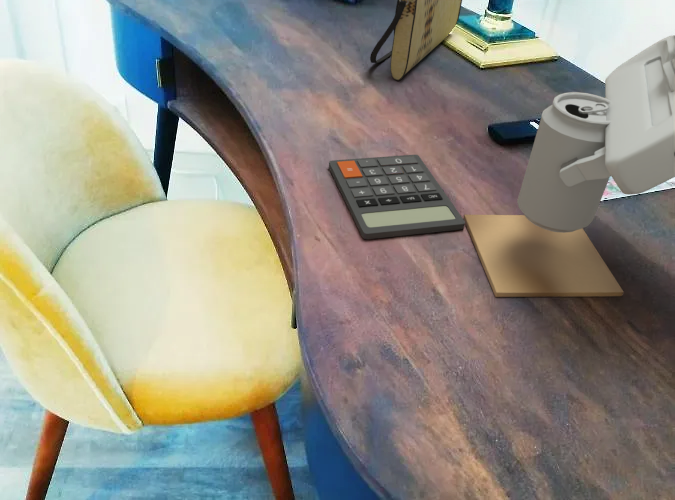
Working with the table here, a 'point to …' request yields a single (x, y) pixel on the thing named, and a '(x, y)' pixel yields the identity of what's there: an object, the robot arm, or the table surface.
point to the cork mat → (538, 259)
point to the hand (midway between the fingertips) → (565, 154)
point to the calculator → (394, 196)
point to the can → (557, 148)
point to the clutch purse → (417, 31)
